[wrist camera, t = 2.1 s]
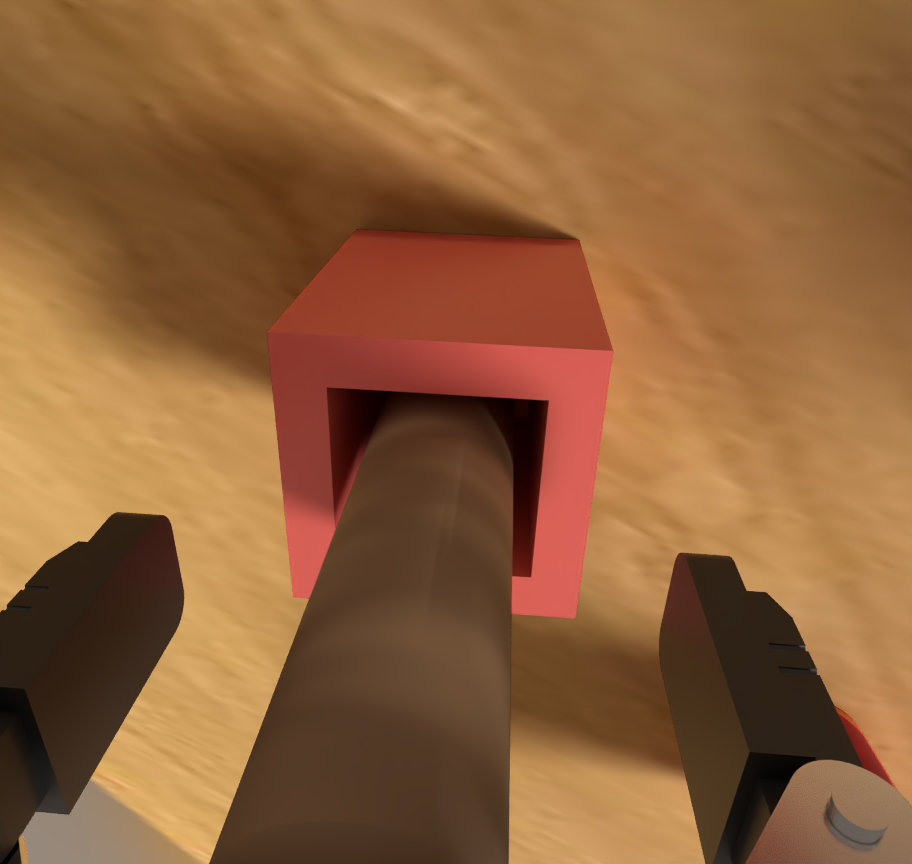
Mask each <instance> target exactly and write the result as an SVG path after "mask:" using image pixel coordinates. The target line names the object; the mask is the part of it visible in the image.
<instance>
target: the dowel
mask: <svg viewBox="0 0 912 864" xmlns="http://www.w3.org/2000/svg"><path fill="white" fill-rule="evenodd" d="M513 469H514V398H499V397H482V396H465V395H448V394H431V393H415V392H398V391H388V392H387V395H386V397H385V400H384V402H383V405H382V408H381V410H380V413H379V416H378V418H377V421H376V424H375V426H374V429H373V432H372V434H371V437H370V439H369V442H368V445H367V447H366V450H365V453H364V455H363V458H362V461H361V463H360V466H359V469H358V471H357V474H356V477H355V479H354V482H353V484H352V487H351V490H350V492H349V495H348V498H347V500H346V503H345V506H344V508H343V511H342V514H341V516H340V519H339V522H338V524H337V527H336V529H335V532H334V535H333V537H332V540H331V543H330V545H329V548H328V551H327V553H326V556H325V559H324V561H323V564H322V566H321V569H320V572H319V574H318V577H317V580H316V582H315V585H314V588H313V590H312V593H311V596H310V598H309V601H308V604H307V606H306V609H305V611H304V614H303V617H302V619H301V622H300V625H299V627H298V630H297V633H296V635H295V638H294V641H293V643H292V646H291V648H290V651H289V654H288V656H287V659H286V662H285V664H284V667H283V670H282V672H281V675H280V678H279V680H278V683H277V686H276V688H275V691H274V693H273V696H272V699H271V701H270V704H269V707H268V709H267V712H266V715H265V717H264V720H263V723H262V725H261V728H260V731H259V733H258V736H257V738H256V741H255V744H254V746H253V749H252V752H251V754H250V757H249V760H248V762H247V765H246V768H245V770H244V773H243V775H242V778H241V781H240V783H239V786H238V789H237V791H236V794H235V797H234V799H233V802H232V805H231V807H230V810H229V813H228V815H227V818H226V820H225V823H224V826H223V828H222V831H221V834H220V836H219V839H218V842H217V844H216V847H215V850H214V852H213V855H212V858H211V860H210V863H209V864H508V860H509V781H510V703H511V625H512V547H513Z"/></svg>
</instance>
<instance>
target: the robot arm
mask: <svg viewBox="0 0 912 864" xmlns="http://www.w3.org/2000/svg"><path fill="white" fill-rule="evenodd" d="M183 606H184V589H183V583H182V578H181V573H180V568H179V562H178V557H177V552H176V547H175V541H174V536H173V531H172V526H171V523H170V521H169V519H168V518H167V517H166V516H164V515H152V514H137V513H123V512H117V513H114V514H113V515H111V516H110V517H109V518H108V519H107V520H106V522H105V523H104V524H103V525H102V526H101V527H100V529H99V530H98V531H97V532H96V533H95V534H94V536H93V537H92V538H91V539H90V540H89V541H88V542H80V541H78V542H77V543H75V544H73V545H72V546H70V547H69V548H67V549H65V550H64V551H62V552H61V553H59V554H57V555H56V556H54V557H53V558H51V559H49V560H48V561H46V563H45V564H44V565H43V566H42V567H41V568H40V569H39V570H38V571H37V572H36V574H35V575H34V576H33V577H32V578H31V579H30V580H29V581H28V582H27V583H26V585H25V589H24V590H20V591H19V592H18V593H17V594H16V595H15V597H14V598H13V599H12V600H11V601H10V602H9V603H8V604H7V609H6V610H2V611H1V612H0V864H28V857H27V849H26V844H25V840H24V838H23V835H22V833H23V831H24V829H25V828H26V826H27V824H28V823H29V821H30V820H31V818H32V816H33V815H34V813H35V812H46V813H57V814H68V815H69V814H70V812H71V810H72V809H73V807H74V805H75V803H76V802H77V800H78V798H79V797H80V795H81V793H82V792H83V790H84V788H85V786H86V785H87V783H88V781H89V780H90V778H91V776H92V774H93V773H94V771H95V769H96V768H97V766H98V764H99V762H100V761H101V759H102V757H103V755H104V754H105V752H106V750H107V749H108V747H109V745H110V743H111V742H112V740H113V738H114V737H115V735H116V733H117V731H118V730H119V728H120V726H121V725H122V723H123V721H124V719H125V718H126V716H127V714H128V713H129V711H130V709H131V707H132V706H133V704H134V702H135V700H136V699H137V697H138V695H139V694H140V692H141V690H142V688H143V687H144V685H145V683H146V682H147V680H148V678H149V676H150V675H151V673H152V671H153V670H154V668H155V666H156V664H157V663H158V661H159V659H160V658H161V656H162V654H163V652H164V651H165V649H166V647H167V645H168V644H169V642H170V640H171V639H172V637H173V635H174V633H175V632H176V630H177V628H178V625H179V623H180V620H181V616H182V612H183ZM659 657H660V666H661V671H662V676H663V680H664V685H665V689H666V693H667V698H668V702H669V706H670V711H671V715H672V719H673V724H674V728H675V733H676V737H677V741H678V746H679V750H680V754H681V759H682V763H683V767H684V772H685V776H686V781H687V785H688V789H689V794H690V798H691V802H692V807H693V811H694V815H695V820H696V824H697V829H698V833H699V837H700V842H701V846H702V850H703V855H704V859H705V863H706V864H912V805H911V804H910V803H909V802H908V801H907V799H906V798H905V797H904V796H903V795H902V794H901V793H900V792H898V791H897V790H896V789H895V788H894V787H893V786H891V785H890V784H889V783H888V782H886V781H885V780H883V779H882V778H880V777H879V776H877V775H875V774H874V773H872V772H870V771H868V770H866V769H865V768H864V767H863V765H862V763H861V761H860V758H859V756H858V754H857V752H856V750H855V748H854V746H853V744H852V742H851V740H850V738H849V735H848V733H847V731H846V729H845V727H844V725H843V723H842V721H841V719H840V717H839V715H838V713H837V710H836V708H835V706H834V704H833V702H832V700H831V698H830V696H829V694H828V692H827V690H826V687H825V685H824V683H823V681H822V679H821V677H820V675H817V669H816V667H815V664H814V662H813V660H812V658H811V656H810V654H809V652H808V651H806V650H805V644H804V641H803V639H802V637H801V635H800V633H799V631H798V629H797V627H796V625H795V623H794V621H793V618H792V617H791V616H790V615H789V614H788V613H787V612H786V611H785V610H784V609H783V608H782V607H781V606H780V605H779V604H778V603H777V602H776V601H775V600H774V599H773V598H772V597H771V596H770V595H768V594H767V593H766V592H754V591H746V588H745V586H744V584H743V581H742V579H741V577H740V574H739V572H738V569H737V567H736V565H735V562H734V560H733V559H732V558H731V557H730V556H721V555H707V554H692V553H679V554H678V556H677V558H676V560H675V564H674V568H673V573H672V577H671V582H670V587H669V591H668V596H667V600H666V605H665V610H664V614H663V619H662V623H661V629H660V637H659Z"/></svg>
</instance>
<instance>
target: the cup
mask: <svg viewBox="0 0 912 864" xmlns="http://www.w3.org/2000/svg"><path fill="white" fill-rule="evenodd" d="M267 339H268V349H269V359H270V369H271V379H272V389H273V399H274V409H275V420H276V430H277V440H278V450H279V460H280V470H281V480H282V490H283V500H284V510H285V521H286V531H287V541H288V551H289V561H290V571H291V581H292V591H293V597H295V598H310V596H311V593H312V590H313V588H314V585H315V582H316V580H317V577H318V574H319V572H320V569H321V566H322V564H323V561H324V559H325V556H326V553H327V551H328V548H329V545H330V543H331V540H332V537H333V535H334V532H335V529H336V527H337V524H338V522H339V519H340V516H341V514H342V511H343V508H344V506H345V503H346V500H347V498H348V495H349V492H350V490H351V487H352V484H353V482H354V479H355V477H356V474H357V471H358V469H359V466H360V463H361V461H362V458H363V455H364V453H365V450H366V447H367V445H368V442H369V439H370V437H371V434H372V432H373V429H374V426H375V424H376V421H377V418H378V416H379V413H380V410H381V408H382V405H383V402H384V400H385V397H386V395H387V392H388V391H398V392H415V393H431V394H448V395H465V396H482V397H499V398H514V469H513V547H512V614H521V615H534V616H548V617H561V618H574V619H575V617H576V610H577V603H578V596H579V589H580V582H581V575H582V568H583V561H584V554H585V547H586V540H587V533H588V526H589V519H590V511H591V504H592V497H593V490H594V483H595V476H596V469H597V462H598V455H599V448H600V441H601V434H602V427H603V420H604V413H605V405H606V398H607V391H608V384H609V377H610V370H611V363H612V356H613V349H612V346H611V342H610V339H609V336H608V333H607V329H606V326H605V323H604V320H603V316H602V313H601V310H600V307H599V303H598V300H597V297H596V294H595V290H594V287H593V284H592V281H591V277H590V274H589V271H588V268H587V264H586V261H585V258H584V255H583V251H582V248H581V245H580V242H579V240H573V239H552V238H531V237H510V236H490V235H469V234H448V233H427V232H406V231H385V230H364V229H356V231H355V232H354V233H353V234H352V235H351V236H350V237H349V239H348V240H347V241H346V242H345V243H344V244H343V245H342V247H341V248H340V249H339V250H338V251H337V252H336V253H335V255H334V256H333V257H332V258H331V259H330V260H329V261H328V263H327V264H326V265H325V266H324V267H323V268H322V269H321V271H320V272H319V273H318V274H317V275H316V276H315V277H314V279H313V280H312V281H311V282H310V283H309V284H308V285H307V287H306V288H305V289H304V290H303V291H302V292H301V293H300V294H299V296H298V297H297V298H296V299H295V300H294V301H293V302H292V304H291V305H290V306H289V307H288V308H287V309H286V310H285V312H284V313H283V314H282V315H281V316H280V317H279V318H278V320H277V321H276V322H275V323H274V324H273V325H272V326H271V328H270V329H269V330H268V331H267Z"/></svg>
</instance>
